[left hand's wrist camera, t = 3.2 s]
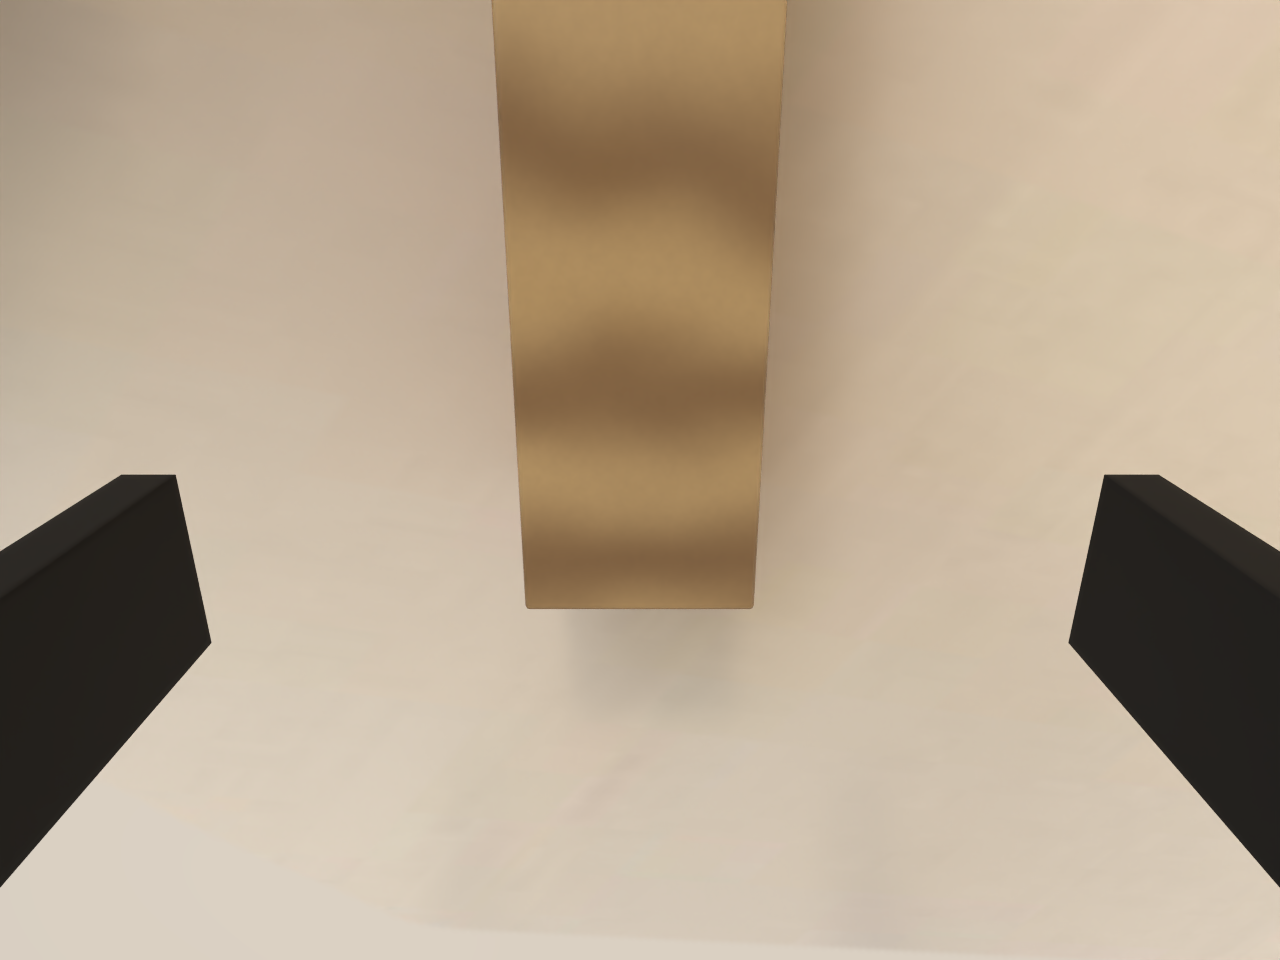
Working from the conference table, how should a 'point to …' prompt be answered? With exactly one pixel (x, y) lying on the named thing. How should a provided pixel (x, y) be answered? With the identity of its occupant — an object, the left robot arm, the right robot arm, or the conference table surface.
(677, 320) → the beam
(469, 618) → the conference table surface
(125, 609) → the left robot arm
